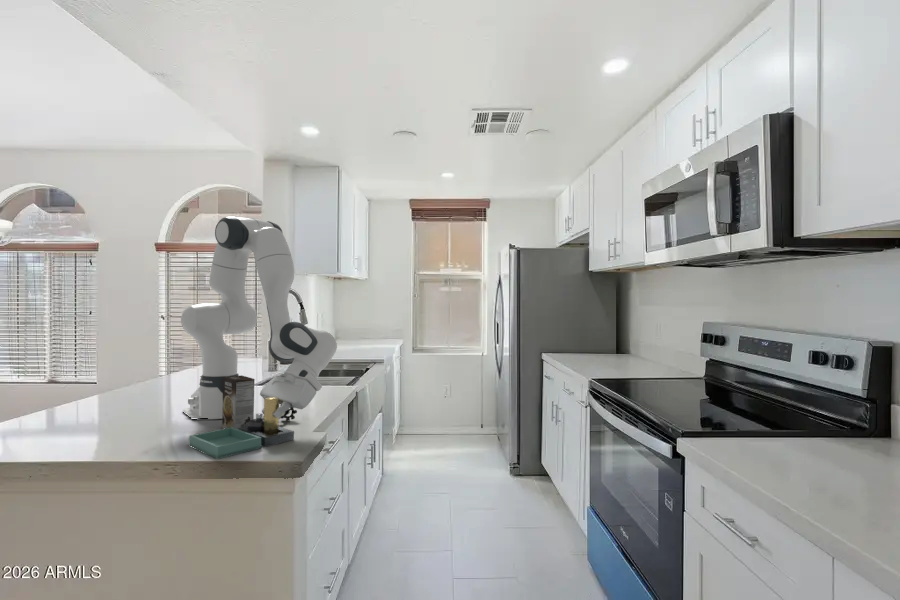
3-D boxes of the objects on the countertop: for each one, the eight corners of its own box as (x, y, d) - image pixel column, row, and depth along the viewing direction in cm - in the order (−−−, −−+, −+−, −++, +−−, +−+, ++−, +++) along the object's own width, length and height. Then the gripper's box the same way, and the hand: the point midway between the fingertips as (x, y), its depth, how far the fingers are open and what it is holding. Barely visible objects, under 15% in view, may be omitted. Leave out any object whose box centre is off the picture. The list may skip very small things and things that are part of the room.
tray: (189, 446, 135) (189, 435, 135) (231, 437, 144) (232, 427, 144) (217, 458, 125) (217, 447, 125) (261, 448, 134) (261, 437, 134)
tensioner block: (237, 436, 145) (237, 414, 145) (265, 430, 152) (265, 409, 152) (265, 446, 136) (265, 423, 136) (293, 439, 143) (294, 417, 143)
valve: (275, 430, 153) (297, 421, 165) (275, 409, 153) (297, 401, 165) (256, 428, 155) (279, 420, 167) (257, 407, 155) (280, 400, 167)
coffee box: (221, 428, 155) (221, 376, 155) (241, 424, 160) (242, 374, 160) (233, 433, 149) (234, 380, 149) (254, 429, 153) (255, 377, 153)
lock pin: (260, 440, 142) (261, 398, 142) (273, 437, 145) (274, 396, 145) (268, 442, 139) (269, 400, 139) (281, 440, 142) (281, 398, 143)
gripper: (273, 367, 154) (243, 403, 146) (313, 374, 141) (282, 413, 134) (286, 379, 158) (257, 415, 150) (325, 387, 145) (296, 427, 137)
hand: (269, 415), depth 142 cm, fingers closed on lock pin, 4 cm apart
